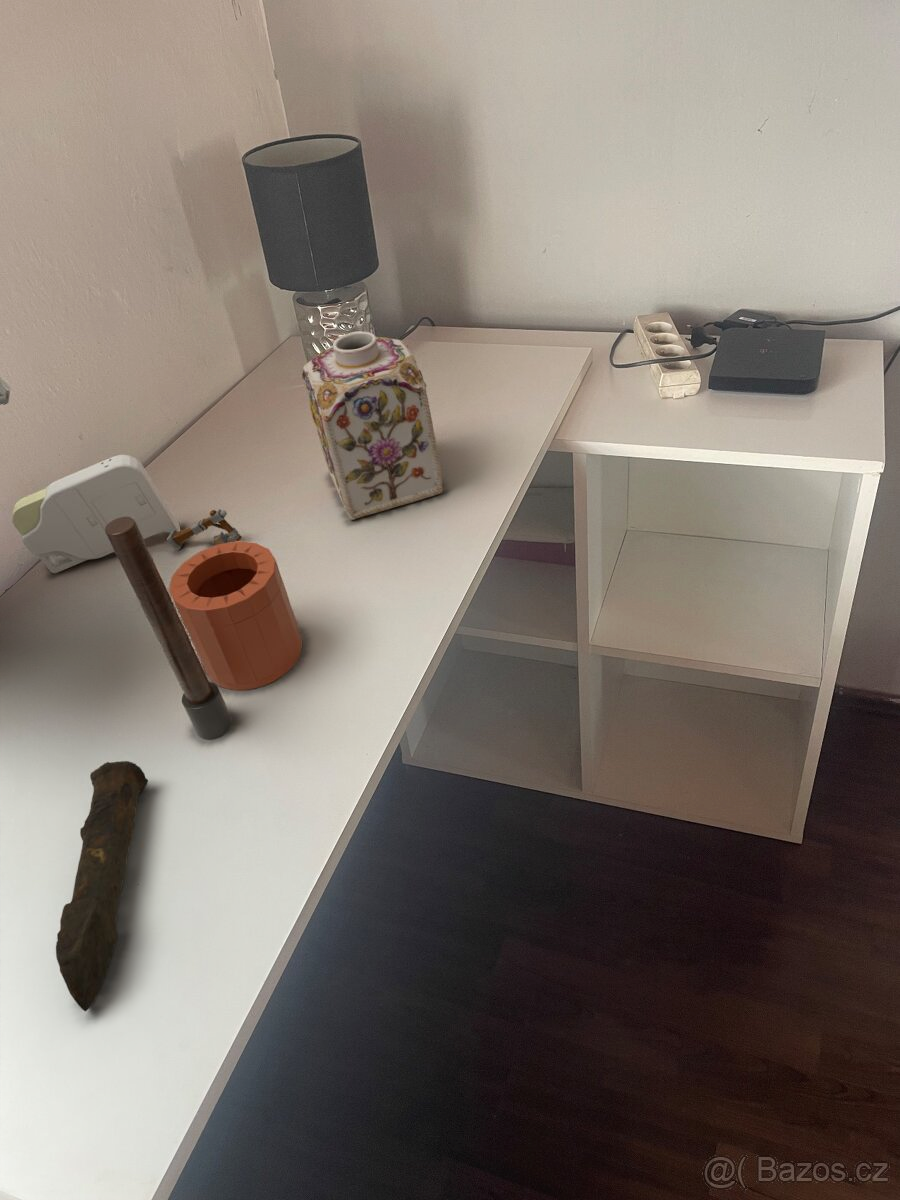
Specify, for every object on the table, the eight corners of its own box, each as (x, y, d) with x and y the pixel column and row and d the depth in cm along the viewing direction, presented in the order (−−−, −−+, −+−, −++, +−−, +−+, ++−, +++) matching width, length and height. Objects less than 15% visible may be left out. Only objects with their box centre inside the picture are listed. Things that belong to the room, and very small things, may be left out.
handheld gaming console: (59, 576, 101) (179, 524, 102) (59, 590, 99) (182, 537, 100) (1, 501, 93) (131, 447, 94) (-1, 515, 91) (133, 459, 92)
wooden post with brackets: (244, 541, 96) (217, 511, 93) (192, 566, 99) (165, 537, 97) (249, 531, 97) (223, 501, 95) (198, 556, 100) (171, 528, 98)
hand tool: (106, 792, 72) (83, 757, 69) (153, 784, 72) (132, 749, 69) (49, 1021, 58) (17, 990, 55) (108, 1011, 58) (79, 980, 55)
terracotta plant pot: (186, 664, 83) (148, 585, 77) (259, 608, 88) (230, 530, 81) (247, 705, 78) (213, 624, 71) (322, 643, 83) (296, 562, 76)
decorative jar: (418, 447, 108) (392, 307, 96) (447, 494, 99) (422, 346, 87) (326, 474, 106) (288, 334, 94) (346, 524, 97) (308, 377, 86)
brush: (189, 729, 77) (88, 530, 62) (217, 706, 78) (125, 507, 64) (211, 745, 75) (113, 543, 60) (239, 721, 76) (150, 520, 62)
